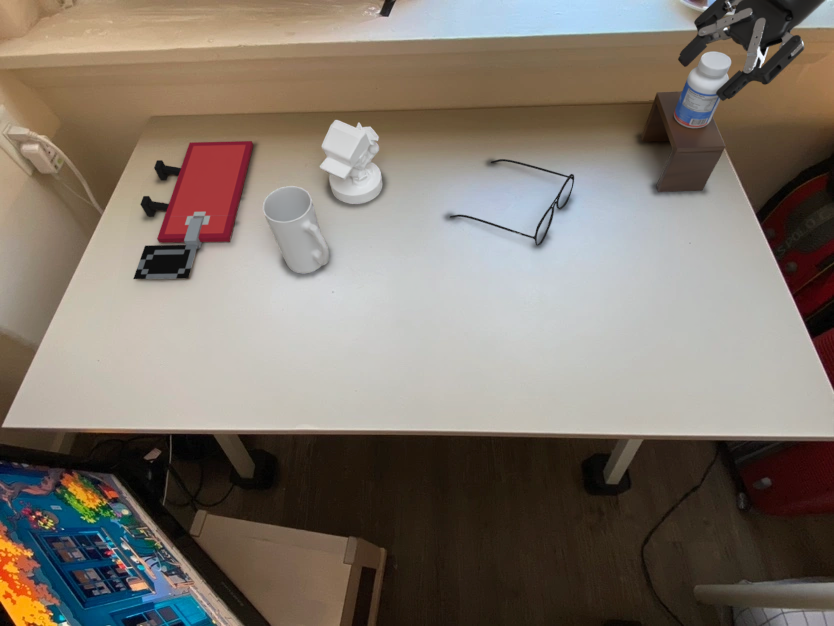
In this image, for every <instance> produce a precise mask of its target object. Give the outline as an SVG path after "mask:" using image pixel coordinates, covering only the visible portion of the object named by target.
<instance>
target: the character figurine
mask: <svg viewBox="0 0 834 626" xmlns="http://www.w3.org/2000/svg"><path fill="white" fill-rule="evenodd" d="M379 139H380V136H379V135H378V134H377V133H376V131H375V130H374V129H373V128H372V127H371V126H362V124H361V123H360V122H359V121H358V122H357V124H356V126H353V125H352V124H349V123H346V122H343V121H341V120H339V119H334V120H333V122H332V123H331V124H330V126H329V128H328V131H327V133H326V135H325V137H324V139H323V141H322V142H321V143H322V144H321V149H322V151H323V153H324V154H325V156H326V158H325V159H324V160H323V161H322V163H321V164H320V165H319V168H320V170H322V171H324V172H326V173H328V174H329V177H328V181H329V185H330V189H331V192H332V194H333V196H334V197H335V198H336V199H337V200H338V201H340V202H343V203H345V204H350V205H361V204H365V203H368V202H371V201H373V200H374V199H375V198H377V197H378V196H379V194H380V193H381V191H382V189H383V178H382V172H381V169H380V168H379V166H377V164H376V163H374V162H372V160H373V159H374V158H375V156H376V154H378V153H379V152H380V145H379V144H378V143H377V142H379Z"/></svg>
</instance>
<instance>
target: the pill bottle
mask: <svg viewBox="0 0 834 626" xmlns="http://www.w3.org/2000/svg"><path fill="white" fill-rule="evenodd" d="M731 65H732V60H731V57H730V56H729V55H727V54H726V53H724V52H720V51H707V52H705V53H703V54H702V56H701V57H700V59H699V61H698V64H697V66H695V67H693V68H692V69H691V70H690V72H689V74H688V76H687V78H686V81H685V83H684V86H683V88H682V90H681V91H682V93H681V96H680V98H679V101H678V103H677V106H676V108H675V111H674V117H675V119H676V121H677V122H678V123H679V124H681V125H683V126H685V127H688V128H701V127H704V126H706V125H707V124H708V123H709V122H710V121H711V119H712V117H713V118H714V115H715V112H716V110H717V108H718V107H719V104H720V101H721V99H720V98H719V97H718V96H717V95H716V92H717V90H718V89H719V88H720V87H722V86H723V85H724V84H725V83H726V82H727V81H728V80H729V79H730V77H729V74H728V72H729V69H730V67H731Z"/></svg>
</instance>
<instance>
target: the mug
mask: <svg viewBox="0 0 834 626" xmlns="http://www.w3.org/2000/svg"><path fill="white" fill-rule="evenodd" d="M262 212H263V214H264V216H265V217H264V218H265V219H266V222H267V224H268V226H269V228H270V232H271V233H272V235H273V237H274V240H275V241H276V244H277V247H278V248H279V251H280V253H281V255H282V257H283V259H284V261H285V263H286V266H287V267H288V268H289V270H291V271H293V272H294V273H296V274H297V273H298V274H310V273H314V272H315V271H317V270H319V269H320V268H321V267H322V266H325V265H327V264H328V263H329V261H330V249H329V247H328V244H327V242H326V240H325V238H324V235H323V233H322V232H321V228H320V224H319V221H318V217H317V213H316V209H315V205H314V203H313V198H312V196H311V194H310V193H309V191H308V190H306V189H305V188H303V187H301V186H296V185H285V186H281V187H278V188H276V189H274V190H272V191H271V192H270V193H268V195H267V196H266V197H265V198H264V200H263V202H262Z"/></svg>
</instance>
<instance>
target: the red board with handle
mask: <svg viewBox="0 0 834 626" xmlns="http://www.w3.org/2000/svg"><path fill="white" fill-rule="evenodd" d="M253 148H254V143H253V140H242V141H241V140H237V141H235V140H233V141H195V142H189V143H188V146H187V149H186V153H185V155H184V158H183V161H182V163H181V167H177V166H172V165H166V164H165V162H164V161H163V159H157V160H156V161H155V164H154V168H153V169H154V171H155V172H156V174H157V176H158V178H159V179H160V181H167V180H168V177H169V175H173V176H177V179H176V181H175V185H174V187H173V190H172V193H171V196H170V199H169V203H167V202H160V201H153V200H152V198H151V197H150V195H143V196H142V199H141V202H140V204H139V205H140V206H141V209H142V210H143V212H144V213H145V214H146V217H154V216H155V213H156V211H161V212H165V214H164V217H163V220H162V222H161V226H160V228H159V231H158V235H157V238H156V239H157V241H158V243H161V244H159V245H157V244H153V245H150V244H149V245H144V247H143V251H142V253H141V256H140V259H139V261H138V263H137V267H136V270H135V273H134V276H133V278H132V280H170V279H171V280H173V279H174V280H175V279H176V280H177V279H178V280H179V279H181V280H182V279H183V280H184V279H189V278H190V273H191V270H192V267H193V264H194V261H195V257H196V253H197V250H198V249H199V250H200V249H201V247H202V243H219V242H220V243H222V242H223V243H225V242H228V243H229V242H230V241H231V238H232V234H233V230H234V227H235V221H236V218H237V214H238V209H239V207H240V201H241V199H242V198H241V197H242V193H243V189H244V185H245V182H246V176H247V173H248V168H249V165H250V161H251V158H252V157H251V155H252V152H253ZM162 243H163V244H162ZM164 243H167V244H164ZM168 243H169V244H168ZM170 243H171V244H170ZM172 243H185V244H172Z"/></svg>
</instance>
